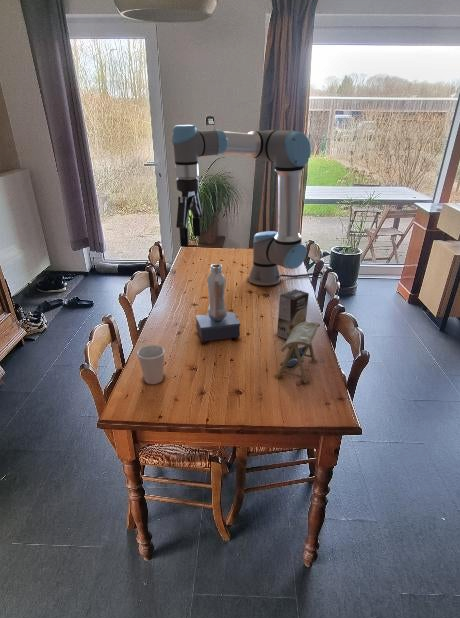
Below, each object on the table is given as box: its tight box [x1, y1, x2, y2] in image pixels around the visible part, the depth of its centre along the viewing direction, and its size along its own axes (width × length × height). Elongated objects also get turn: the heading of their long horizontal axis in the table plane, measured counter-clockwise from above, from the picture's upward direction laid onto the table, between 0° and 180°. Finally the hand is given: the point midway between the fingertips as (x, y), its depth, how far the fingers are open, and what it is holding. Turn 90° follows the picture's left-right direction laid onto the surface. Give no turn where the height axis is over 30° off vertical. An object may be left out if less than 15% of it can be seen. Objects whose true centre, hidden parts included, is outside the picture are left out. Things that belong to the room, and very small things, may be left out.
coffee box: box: [276, 288, 310, 341], centre depth 158 cm, size 9×6×16 cm
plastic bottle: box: [206, 263, 228, 321], centre depth 152 cm, size 6×7×20 cm
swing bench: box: [276, 320, 321, 384], centre depth 137 cm, size 15×10×15 cm, turn 158°
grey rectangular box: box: [194, 311, 241, 345], centre depth 159 cm, size 14×10×7 cm
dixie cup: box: [136, 344, 166, 385], centre depth 134 cm, size 8×8×10 cm
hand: (191, 241), depth 157 cm, fingers open, 13 cm apart
